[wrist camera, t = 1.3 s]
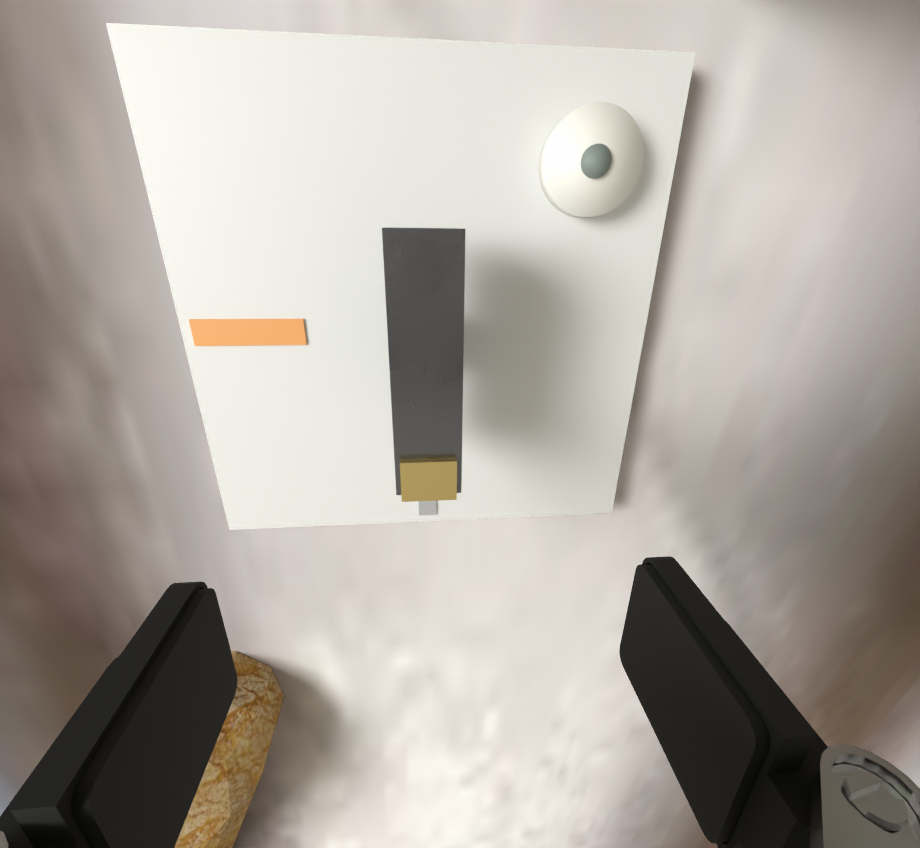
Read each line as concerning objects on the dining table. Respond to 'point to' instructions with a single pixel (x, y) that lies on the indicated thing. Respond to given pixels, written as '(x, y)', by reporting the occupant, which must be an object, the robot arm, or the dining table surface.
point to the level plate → (362, 265)
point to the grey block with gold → (426, 358)
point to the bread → (235, 759)
